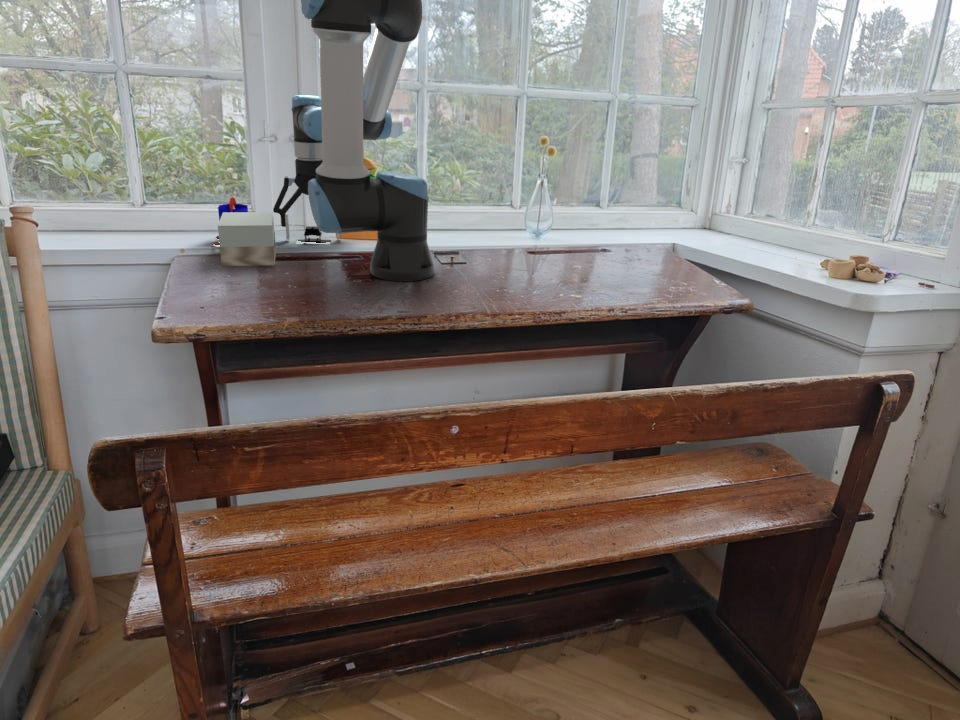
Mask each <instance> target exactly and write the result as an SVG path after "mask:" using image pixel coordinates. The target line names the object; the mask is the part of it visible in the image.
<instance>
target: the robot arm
mask: <svg viewBox="0 0 960 720" xmlns="http://www.w3.org/2000/svg"><path fill="white" fill-rule="evenodd" d="M300 3H301V4H300V5H301V13H302V15H303V17H304V18H305V19H307V20H310V29H311V30H312V32H313V33H314V34H315V35H316V36H317V38H318V39H319V67H320V70H319V71H320V73H319V74H320V96H318V95H309V94H305V95H303V94H296V95H294V96H292V99H291V112H292V113H291V114H292V126H293V128H292V129H293V140H294V141H293V146H294V148H293V149H294V157H295V160H294V162H295V165H294V166H295V177H289V176H288V175H287V176H284V178H283V185H282V188H281V191H280V192H279V195H278V197H277V199H276V202H275V204H274V205H273V209H272V211H273V213H275V214H279V215H280V226H281V227H283V228H284V227H285V235H286V240H290V239H291V237H290V222H289V213H287V212H288V211H289V210H290V209H291V207H292V206H293V205H294V203H296V201H297V200H298V199H299V197H301V195H302V194H303V195H305V196H308V200H309V207H310V210H311V213H312V216H313V220H314V222H315V224H316V227H318V228H319V229H320V230H321V232H323V233H324V234H325V233H326V234H336V236H337V240H341V235H342V234H344V233H345V234H346V233H364V232H365V233H367V232H377V233H376V234H377V237H376V244H375V247H374V250H373V253H372V257H371V260H370V263H369V264H370V265H369V268H370V269H369V271H370V274H371V275H372V276H374V277H375V278H377V279H381V280H385V281H392V282H415V281H422V280H426V279H429V278H431V277H433V275H434V273H435V272H434V271H435V270H434V269H435V266H434V261H433V258H432V255H431V251H430V248H429V244H428V210H429V192H428V189H429V188H428V183H427V181H426V180H425V178H422V177H420V176H418V175H413V174H408V173H403V172H397V171H391V170H390V171H388V170H378V171H377V173H376V174H375V177H376V178H371V171H370V170H369V169H368V168H367V167H366V166H365V164H364V140H365V141H366V140H368V141H369V140H371V141H377V140H387V139H388V138H390V137H391V134H392V127H393V121H392V120H393V119H392V118H393V117H392V114H391V112H390V110H389V106H390V103H391V100H392V97H393V94H394V91H395V88H396V85H397V83H398V79H399V77H400V73H401V71H402V68H403V64H404V62H405V58H406V55H407V53H408V50H409V46H410V43H412V42H414V40H416V38H417V37H418V35H419V32H420V29H421V26H422V22H423V21H422V20H423V1H422V0H300ZM372 24H373V25H374V26H375V28H376V29H375V32H374V35H373V40H372V43H371V48H370V51H369V53H368V59H367V63H366V67H365V68H364V42H365V41H366V40H367V39H368V38H369V37H370V36H371V34H372ZM364 69H365V70H364ZM293 183H294V184H295V185H296V187H298V188H297V189H296V190H295V192H294V193H293V194H292V196H291V197H290V198H289V199H288V200H287V202H286V203H284V206H283V207H282V208H280V207H281V205H282V203H283V201H284V198H285V196H286V194H287V192H288V190H289V187H291V186H292V185H293Z"/></svg>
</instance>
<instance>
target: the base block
mask: <svg viewBox="0 0 960 720" xmlns="http://www.w3.org/2000/svg"><path fill="white" fill-rule="evenodd" d="M276 252H277V245H276V232H275V231H274V246H253V247H219V253H220V254H219V255H220V262H221V264H220V265H221V266H222V267H241V266H242V267H244V266H245V267H248V266H253V267H254V266H275V263H276V255H277V254H276Z"/></svg>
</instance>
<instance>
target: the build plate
mask: <svg viewBox="0 0 960 720" xmlns="http://www.w3.org/2000/svg"><path fill="white" fill-rule="evenodd" d="M304 229H305V230H304V233H303V236H304V239H302V238H301V239H297V240H298V241H301V242H316V243H326V242H331V243H332V239H322V231H321V230H320V229H319V228H318V227H317V226H305V228H304ZM309 236H315V237H316V238H313V237H309Z"/></svg>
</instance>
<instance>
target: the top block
mask: <svg viewBox="0 0 960 720" xmlns="http://www.w3.org/2000/svg"><path fill="white" fill-rule="evenodd" d="M274 221H275V220H274V211H273V212H272V211H271V212H270V211H269V212H268V211H266V212H265V211H264V212H263V211H261V212H260V211H259V212H257V211H255V212H252V211H251V212H250V211H248V212H223V214H222V216H221V219H220V221H218V223H217V231H218V232H217V233H218V236H219V240H218V241H219V242H220V247H253V246H274V232H275V223H274ZM220 247H219V248H220Z"/></svg>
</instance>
